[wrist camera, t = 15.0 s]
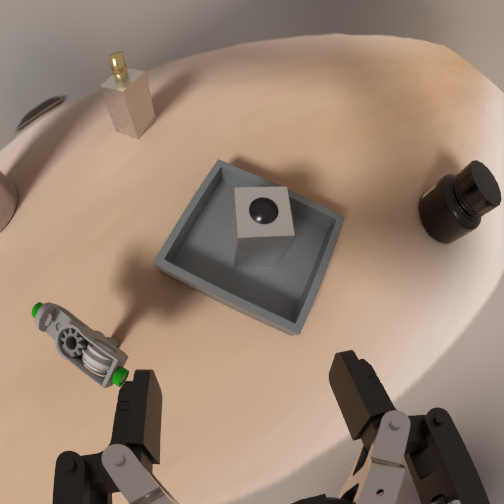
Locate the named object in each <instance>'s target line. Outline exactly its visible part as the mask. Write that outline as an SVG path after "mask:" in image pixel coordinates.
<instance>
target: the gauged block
mask: <svg viewBox="0 0 504 504" xmlns="http://www.w3.org/2000/svg"><path fill="white" fill-rule="evenodd" d="M109 61H110V64H111V67H112V71H113V75H111V76H110V77H109V78H108V79H107V80H106V81H104V82H103V83H102V84H101V85H100V86H99V88H100V90H101V93H102V96H103V98H104V101H105V104H106V106H107V109H108V112H109V114H110V117H111V119H112V122H113V124H114V127H115V129H116V132H119V133H122V134H125V135H128V136H131V137H133V138H136V139H139V138H140V136H141V135H142V134H143V133H144V132H145V131H146V129H147V128H148V127H149V126H150V125H151V124H152V123H153V122H154V121H155V119H156V117H155V113H154V109H153V104H152V100H151V95H150V91H149V86H148V81H147V76H146V71H142V70H137V69H130V68H126V64H125V60H124V56H123V52H122V51H117V52H114V53H112V54H111V55H110V56H109Z"/></svg>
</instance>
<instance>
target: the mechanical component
mask: <svg viewBox="0 0 504 504" xmlns="http://www.w3.org/2000/svg"><path fill="white" fill-rule="evenodd" d="M32 316H33V317H34V318H35V325H36V326H37V327H38V328H39V329H40V330H41V331H44V332H46V333H47V334H48V335H50V336H51V337H52V338H53V339H54V340H55V342H56V348H57V350H58V352H59V354H60V355H61V356H62V357H63V358H64V359H66V360H68V361H70V362H71V363H72V364H73V365H75V366H76V367H77V368H78V369H80V370H81V371H82V372H83V373H85V374H86V375H87V376H89V377H90V378H91V379H93V380H94V381H95V382H97V383H98V384H99V385H101V386H102V387H103V388H106V387H109V386H112V385H113V384H116V385H117V386H119V387H121V386H122V385H123V384H124V382H125V381H126V379H127V377H128V374H129V371H128V370H126V369H125V368H123V366H124V364H125V362H126V360H127V358H128V356H127V355H126V354H125V353H124V352H123V351H122V350H120V349H119V348H117V346H119V341H118V340H117V339H116V338H111V337H105V336H104V335H103V334H102V333H101V332H99V331H94V330H92V329H91V328H89V327H88V326H87V325H86V324H84V323H83V322H82V321H80V320H79V319H78V318H77V317H75V316H74V315H73V314H72V313H70V312H69V311H68V310H66V309H64V308H63V307H61V306H59V305H56V304H53V303H49V302H48V303H45V304H42V303H41V302H39V303H37V304H36V305H35V306H34V307H33V309H32ZM83 364H85V365H86V366H87V367H88V368H89V369H91V370H92V371H94V372H96V373H98V374H101V375H103V376H104V377H101V376H98V375H96V374H94V373H92V372H91V371H89V370H88V369H87V368H86V367H85V366H84V365H83Z"/></svg>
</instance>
